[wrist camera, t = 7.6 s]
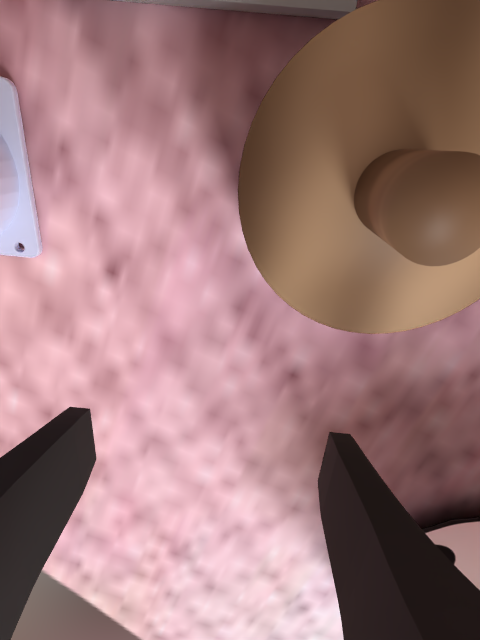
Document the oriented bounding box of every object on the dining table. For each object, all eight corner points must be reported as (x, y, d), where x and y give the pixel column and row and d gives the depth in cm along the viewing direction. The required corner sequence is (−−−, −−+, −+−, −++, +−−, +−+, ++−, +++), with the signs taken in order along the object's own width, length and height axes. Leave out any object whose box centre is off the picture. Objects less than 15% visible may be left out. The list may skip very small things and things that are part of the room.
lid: (236, 320, 17) (229, 381, 13) (241, -2, 12) (232, -85, 8) (494, 330, 16) (577, 396, 12) (612, 0, 11) (826, -86, 7)
